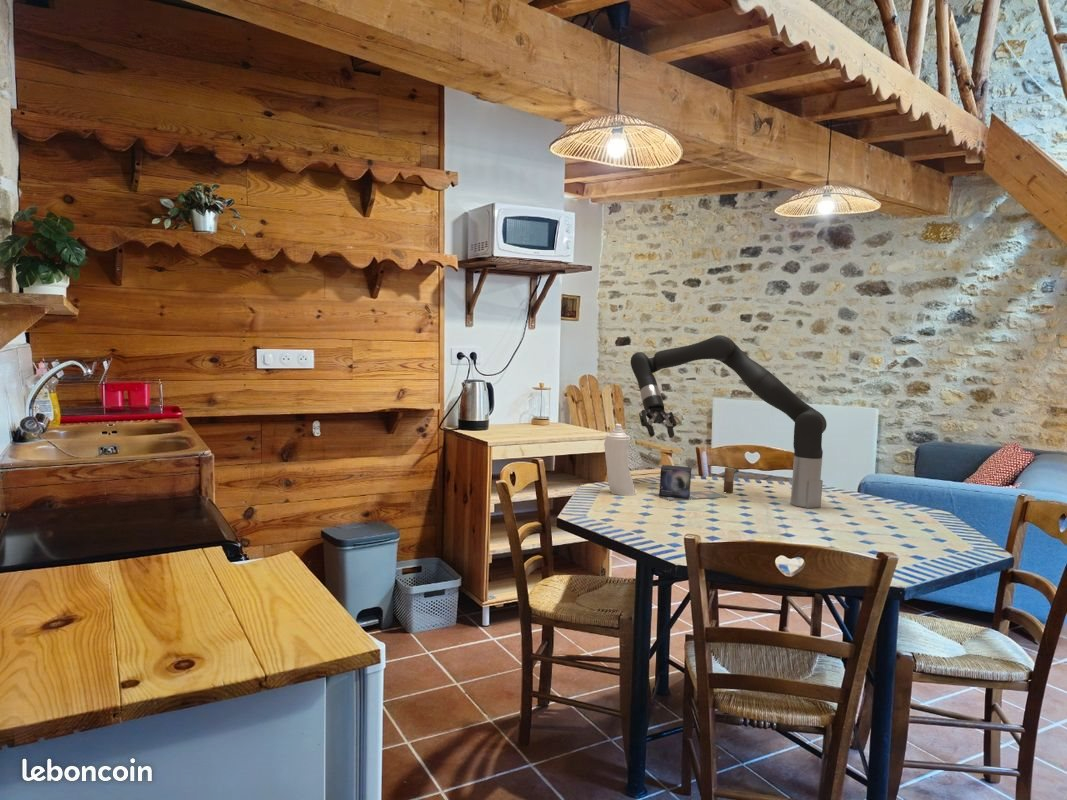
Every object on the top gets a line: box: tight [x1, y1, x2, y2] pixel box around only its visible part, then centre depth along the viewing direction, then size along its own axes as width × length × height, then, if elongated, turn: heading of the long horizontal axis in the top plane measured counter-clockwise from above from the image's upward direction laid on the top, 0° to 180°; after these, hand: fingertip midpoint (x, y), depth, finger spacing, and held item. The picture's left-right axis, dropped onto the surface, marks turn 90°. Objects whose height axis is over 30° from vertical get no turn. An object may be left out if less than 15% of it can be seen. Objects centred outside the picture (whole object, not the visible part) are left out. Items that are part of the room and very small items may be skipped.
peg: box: [722, 467, 735, 494], centre depth 262 cm, size 3×3×9 cm
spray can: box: [603, 423, 637, 497], centre depth 253 cm, size 12×11×25 cm
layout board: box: [653, 490, 728, 502], centre depth 253 cm, size 10×25×1 cm, turn 113°
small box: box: [658, 464, 693, 499], centre depth 250 cm, size 11×6×10 cm, turn 73°
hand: (662, 436), depth 259 cm, fingers open, 8 cm apart
